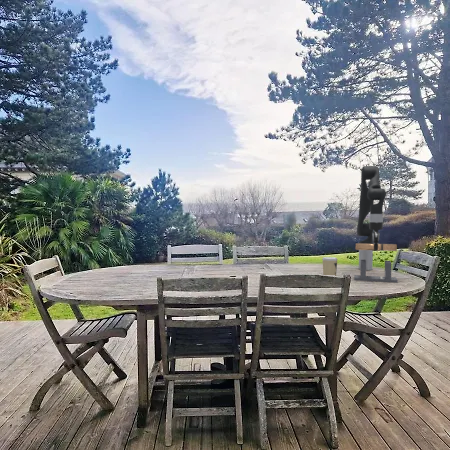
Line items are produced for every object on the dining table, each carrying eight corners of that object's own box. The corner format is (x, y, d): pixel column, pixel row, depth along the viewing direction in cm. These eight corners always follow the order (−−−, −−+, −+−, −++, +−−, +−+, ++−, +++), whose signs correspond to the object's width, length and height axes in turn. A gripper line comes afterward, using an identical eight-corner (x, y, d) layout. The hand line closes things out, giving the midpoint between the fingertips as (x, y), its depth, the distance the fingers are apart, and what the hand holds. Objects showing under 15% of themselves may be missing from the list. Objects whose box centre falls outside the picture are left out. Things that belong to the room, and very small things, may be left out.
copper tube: (355, 250, 232) (355, 243, 232) (355, 249, 236) (355, 243, 235) (396, 251, 224) (396, 244, 224) (396, 250, 228) (396, 243, 228)
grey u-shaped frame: (354, 277, 239) (354, 259, 239) (396, 279, 231) (396, 261, 231) (354, 280, 230) (354, 261, 229) (397, 282, 222) (397, 263, 221)
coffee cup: (338, 278, 237) (338, 259, 236) (322, 277, 238) (323, 258, 238) (336, 275, 246) (336, 257, 246) (321, 275, 248) (321, 256, 247)
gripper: (369, 221, 237) (368, 248, 238) (369, 221, 224) (369, 250, 224) (382, 221, 235) (381, 249, 235) (383, 221, 221) (383, 251, 222)
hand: (375, 249), depth 230 cm, fingers closed on copper tube, 4 cm apart
